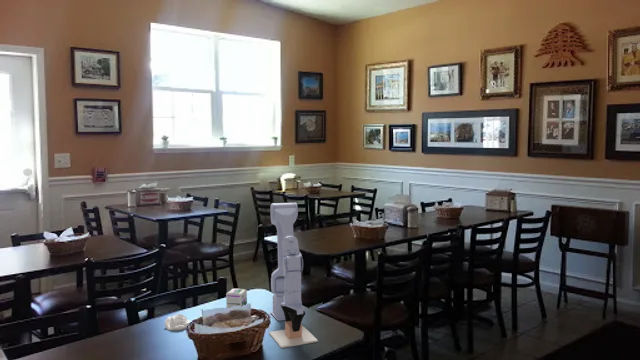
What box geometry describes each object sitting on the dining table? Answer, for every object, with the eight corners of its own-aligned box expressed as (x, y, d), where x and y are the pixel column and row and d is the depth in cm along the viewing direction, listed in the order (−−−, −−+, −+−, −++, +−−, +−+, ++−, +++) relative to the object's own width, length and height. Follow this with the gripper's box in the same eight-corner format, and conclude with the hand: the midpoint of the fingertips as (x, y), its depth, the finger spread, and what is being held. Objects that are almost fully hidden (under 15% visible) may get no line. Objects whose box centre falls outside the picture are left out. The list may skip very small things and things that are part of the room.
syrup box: (242, 334, 179) (241, 293, 177) (226, 332, 180) (225, 292, 178) (247, 327, 184) (247, 288, 183) (232, 326, 185) (231, 287, 184)
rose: (161, 312, 188) (188, 308, 192) (162, 323, 188) (188, 319, 193) (167, 321, 179) (194, 316, 184) (167, 333, 179) (195, 328, 184)
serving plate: (269, 333, 179) (269, 331, 179) (303, 327, 184) (303, 326, 184) (281, 348, 167) (281, 346, 167) (317, 341, 172) (317, 340, 172)
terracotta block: (285, 334, 177) (285, 321, 176) (297, 332, 179) (297, 320, 178) (289, 339, 173) (289, 326, 172) (301, 337, 175) (301, 324, 174)
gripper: (274, 284, 179) (275, 322, 180) (289, 297, 166) (289, 337, 167) (293, 282, 182) (293, 319, 183) (309, 294, 169) (309, 334, 170)
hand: (292, 327), depth 175 cm, fingers open, 6 cm apart
